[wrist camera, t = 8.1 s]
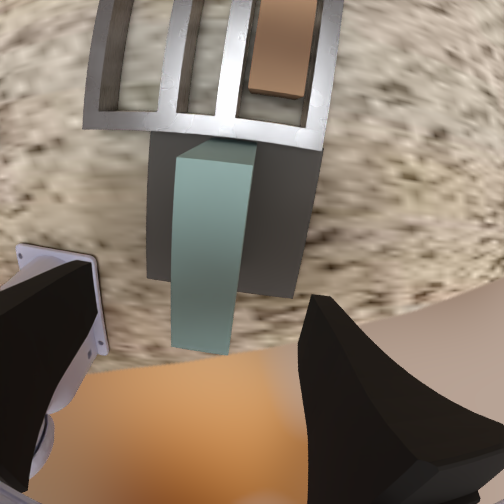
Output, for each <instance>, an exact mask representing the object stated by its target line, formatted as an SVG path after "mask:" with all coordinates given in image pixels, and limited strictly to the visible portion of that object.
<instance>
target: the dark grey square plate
mask: <svg viewBox="0 0 504 504" xmlns="http://www.w3.org/2000/svg"><path fill="white" fill-rule="evenodd" d="M211 138H222V139H231V140H240V141H248V142H255V143H257V148H256V155H255V163H254V170H253V177H252V184H251V192H250V199H249V206H248V213H247V221H246V228H245V236H244V243H243V251H242V258H241V266H240V273H239V280H238V287H237V292H244V293H251V294H259V295H267V296H275V297H283V298H291V299H293V295H294V291H295V287H296V282H297V278H298V274H299V269H300V265H301V260H302V256H303V251H304V246H305V242H306V237H307V232H308V228H309V223H310V218H311V213H312V208H313V203H314V198H315V193H316V188H317V183H318V177H319V172H320V167H321V161H322V156H323V150H324V148H322V151H318V150H312V149H307V148H301V147H295V146H289V145H283V144H276V143H269V142H262V141H255V140H247V139H239V138H231V137H222V136H212V135H202V134H191V133H178V132H162V131H151V133H150V146H149V162H148V182H147V216H146V260H147V278H148V279H155V280H161V281H167V282H171V248H172V221H173V201H174V185H175V170H176V158H177V157H178V156H180V155H181V154H183V153H185V152H187V151H189V150H190V149H192V148H194V147H196V146H198V145H200V144H202V143H204V142H205V141H207V140H209V139H211Z"/></svg>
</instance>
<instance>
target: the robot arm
mask: <svg viewBox="0 0 504 504" xmlns="http://www.w3.org/2000/svg"><path fill="white" fill-rule="evenodd" d="M16 254H17V259H18V264H19V269H20V270H19V271H18V272H17V273H16V274H15V275H14V276H13V277H11V278H10V279H9V280H8V281H7V282H6V283H5V284H3V285H2V286H1V287H0V504H41V503H39V502H37V501H35V500H33V499H31V498H29V497H27V496H25V495H24V494H22V493H23V492H25V491H27V490H28V483H29V479H30V478H32V477H33V476H34V475H35V474H37V473H38V471H39V470H40V469H41V468H42V467H43V465H44V463H45V462H46V460H47V459H48V457H49V455H50V452H51V450H52V447H53V442H54V422H53V419H52V418H51V416H50V415H49V414H52V413H55V412H57V411H59V410H61V409H62V408H64V407H65V406H67V405H68V404H69V403H70V402H71V400H72V399H73V397H74V396H75V394H76V392H77V390H78V388H79V386H80V384H81V383H82V381H83V379H84V377H85V375H86V373H87V372H88V370H89V368H90V366H91V364H92V363H93V361H94V359H95V357H96V356H97V354H100V355H107V354H108V353H109V347H108V342H107V336H106V330H105V324H104V318H103V311H102V305H101V297H100V290H99V281H98V272H97V262H96V259H95V258H94V257H93V256H91V255H86V254H80V253H74V252H68V251H62V250H56V249H51V248H45V247H39V246H34V245H28V244H23V243H19V244H18V245H17V246H16ZM21 254H22V255H21ZM101 341H102V342H101ZM298 372H299V379H300V386H301V392H302V399H303V405H304V412H305V419H306V425H307V435H308V501H307V504H477V503H478V502H480V496H479V493H478V490H479V489H480V488H481V487H483V486H484V485H485V484H486V483H488V481H490V480H491V479H492V478H494V476H496V475H497V474H498V473H499V472H500V471H502V470H503V469H504V425H503V424H501V423H499V422H496V421H494V420H491V419H489V418H486V417H484V416H481V415H479V414H476V413H474V412H472V411H470V410H468V409H466V408H464V407H462V406H460V405H458V404H456V403H454V402H452V401H450V400H449V399H447V398H445V397H444V396H442V395H440V394H438V393H437V392H435V391H434V390H432V389H431V388H429V387H428V386H426V385H425V384H423V383H422V382H420V381H419V380H417V379H416V378H415V377H413V376H412V375H411V374H409V373H408V372H407V371H406V370H404V369H403V368H402V367H400V366H399V365H398V364H397V363H396V362H394V361H393V360H392V359H391V358H390V357H389V356H388V355H387V354H385V353H384V352H383V351H382V350H381V349H380V348H379V347H378V346H377V345H376V344H375V343H374V342H373V341H372V340H371V339H370V338H369V337H368V336H367V335H366V334H365V333H364V332H363V331H362V330H361V329H360V328H359V327H358V326H357V325H356V323H355V322H354V321H353V320H352V319H351V318H350V317H349V316H348V315H347V314H346V312H345V311H344V310H343V309H342V308H341V307H340V306H339V305H338V304H337V303H336V302H335V301H334V300H333V299H332V298H331V297H330V296H323V295H314V294H311V298H310V302H309V306H308V309H307V313H306V317H305V320H304V324H303V327H302V331H301V334H300V338H299V341H298ZM495 504H504V499H503V500H501V501H499V502H497V503H495Z"/></svg>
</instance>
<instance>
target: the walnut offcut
mask: <svg viewBox="0 0 504 504" xmlns="http://www.w3.org/2000/svg"><path fill="white" fill-rule="evenodd" d="M316 6H317V0H261V5H260V12H259V18H258V24H257V31H256V37H255V43H254V50H253V57H252V63H251V70H250V77H249V84H248V89H249V91H250V92H251V93H252V94H260V95H268V96H275V97H281V98H287V99H293V100H296V99H298V98H301V97H303V96H304V91H305V84H306V78H307V71H308V64H309V57H310V50H311V43H312V36H313V29H314V21H315V14H316Z"/></svg>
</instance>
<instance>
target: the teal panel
mask: <svg viewBox="0 0 504 504" xmlns="http://www.w3.org/2000/svg"><path fill="white" fill-rule="evenodd" d="M256 148H257V143H255V142H248V141H240V140H231V139H222V138H211V139H209V140H207V141H205V142H204V143H202V144H200V145H198V146H196V147H194V148H192V149H190V150H189V151H187V152H185V153H183V154H181V155H180V156H178V157H177V158H176V170H175V185H174V201H173V221H172V248H171V347H176V348H182V349H188V350H194V351H200V352H207V353H214V354H221V355H228V353H229V346H230V338H231V331H232V324H233V316H234V309H235V302H236V295H237V287H238V280H239V273H240V266H241V258H242V251H243V243H244V236H245V228H246V221H247V213H248V206H249V199H250V192H251V184H252V177H253V170H254V163H255V155H256Z"/></svg>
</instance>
